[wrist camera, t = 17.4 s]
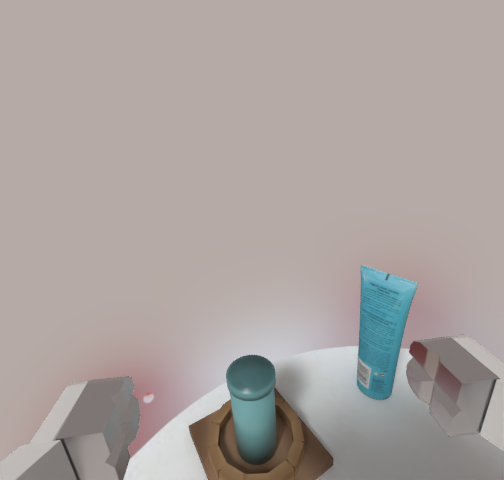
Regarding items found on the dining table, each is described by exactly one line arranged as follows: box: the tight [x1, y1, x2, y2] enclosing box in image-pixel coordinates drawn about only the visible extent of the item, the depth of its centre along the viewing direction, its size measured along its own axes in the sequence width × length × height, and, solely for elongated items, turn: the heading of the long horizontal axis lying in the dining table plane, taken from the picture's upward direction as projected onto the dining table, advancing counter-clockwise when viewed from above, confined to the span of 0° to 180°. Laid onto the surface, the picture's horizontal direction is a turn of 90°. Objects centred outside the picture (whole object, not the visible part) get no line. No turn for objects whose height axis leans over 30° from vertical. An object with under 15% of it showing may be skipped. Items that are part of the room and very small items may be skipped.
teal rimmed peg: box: [226, 355, 277, 465], centre depth 32 cm, size 5×5×11 cm
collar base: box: [189, 387, 333, 480], centre depth 34 cm, size 13×13×3 cm
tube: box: [357, 265, 418, 400], centre depth 39 cm, size 7×5×19 cm, turn 44°
